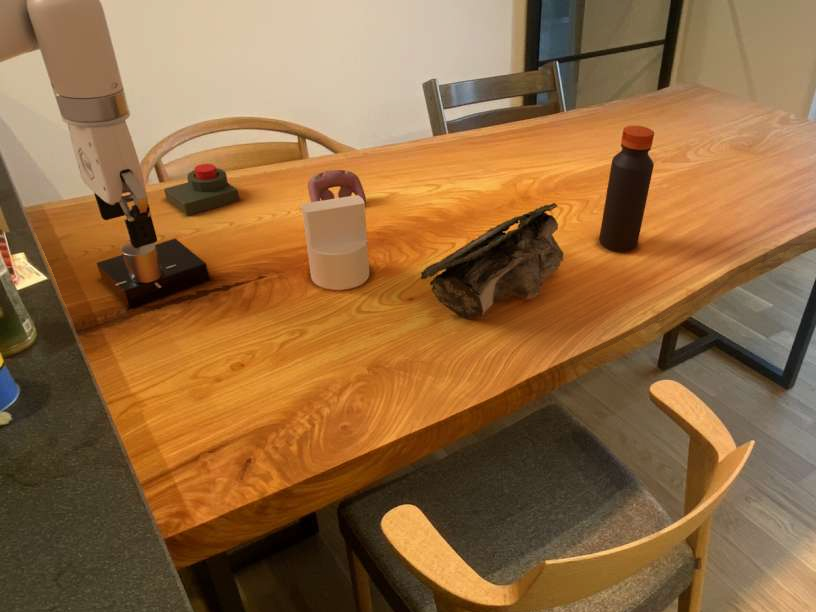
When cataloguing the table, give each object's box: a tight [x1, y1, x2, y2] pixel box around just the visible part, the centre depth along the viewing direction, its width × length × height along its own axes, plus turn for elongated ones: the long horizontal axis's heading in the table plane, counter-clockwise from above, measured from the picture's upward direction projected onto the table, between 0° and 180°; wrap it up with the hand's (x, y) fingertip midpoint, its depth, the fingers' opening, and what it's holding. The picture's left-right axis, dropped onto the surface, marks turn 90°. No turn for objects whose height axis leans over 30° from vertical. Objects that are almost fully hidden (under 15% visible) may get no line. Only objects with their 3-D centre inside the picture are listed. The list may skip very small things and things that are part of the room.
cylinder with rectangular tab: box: [301, 194, 370, 291], centre depth 105 cm, size 9×9×12 cm
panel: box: [95, 238, 211, 309], centre depth 103 cm, size 12×12×3 cm
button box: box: [163, 167, 240, 216], centre depth 125 cm, size 10×8×4 cm
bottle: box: [598, 125, 655, 253], centre depth 115 cm, size 7×7×20 cm
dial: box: [120, 239, 163, 283], centre depth 98 cm, size 4×4×5 cm
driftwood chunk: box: [420, 202, 564, 320], centre depth 103 cm, size 28×13×15 cm
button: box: [193, 163, 217, 180], centre depth 125 cm, size 4×4×2 cm
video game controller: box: [307, 169, 367, 205], centre depth 126 cm, size 10×5×7 cm, turn 116°
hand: (129, 230), depth 95 cm, fingers open, 9 cm apart
